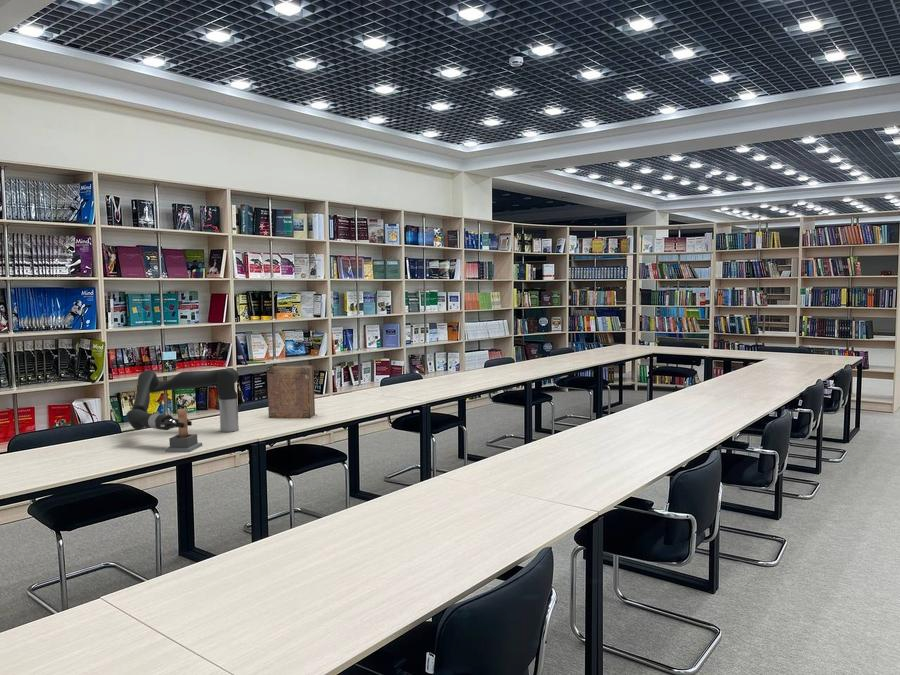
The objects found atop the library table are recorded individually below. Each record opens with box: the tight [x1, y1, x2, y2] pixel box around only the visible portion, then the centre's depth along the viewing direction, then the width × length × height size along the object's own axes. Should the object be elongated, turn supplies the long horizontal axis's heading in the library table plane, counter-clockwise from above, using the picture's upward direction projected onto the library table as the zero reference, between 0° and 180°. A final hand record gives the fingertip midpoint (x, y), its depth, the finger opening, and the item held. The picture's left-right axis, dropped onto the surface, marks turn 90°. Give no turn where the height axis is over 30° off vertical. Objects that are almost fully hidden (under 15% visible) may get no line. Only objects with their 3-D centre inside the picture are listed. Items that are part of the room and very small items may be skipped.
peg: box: [177, 408, 189, 438], centre depth 302 cm, size 4×4×16 cm
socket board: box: [164, 433, 203, 453], centre depth 303 cm, size 12×12×6 cm
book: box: [266, 365, 316, 419], centre depth 377 cm, size 25×9×30 cm, turn 82°
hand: (187, 424), depth 301 cm, fingers closed on peg, 4 cm apart
